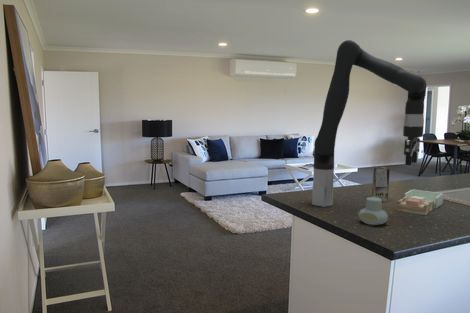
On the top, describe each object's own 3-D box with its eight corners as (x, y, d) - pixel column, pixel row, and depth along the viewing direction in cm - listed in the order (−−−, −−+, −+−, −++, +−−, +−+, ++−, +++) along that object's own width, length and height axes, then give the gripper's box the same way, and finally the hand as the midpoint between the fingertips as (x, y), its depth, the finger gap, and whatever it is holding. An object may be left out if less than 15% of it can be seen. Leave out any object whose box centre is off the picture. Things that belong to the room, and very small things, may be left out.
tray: (436, 208, 172) (437, 198, 171) (403, 203, 180) (404, 193, 180) (442, 203, 181) (443, 193, 181) (411, 199, 190) (412, 189, 190)
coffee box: (388, 201, 184) (390, 169, 182) (374, 201, 185) (376, 168, 183) (384, 197, 193) (386, 166, 191) (371, 197, 194) (373, 166, 192)
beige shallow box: (425, 215, 161) (426, 206, 161) (396, 210, 169) (396, 201, 168) (433, 208, 172) (434, 200, 171) (405, 204, 179) (406, 196, 179)
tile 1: (417, 206, 164) (418, 202, 163) (405, 204, 167) (405, 200, 167) (420, 204, 168) (421, 200, 167) (409, 202, 171) (409, 198, 170)
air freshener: (390, 223, 149) (391, 199, 148) (382, 228, 143) (384, 202, 142) (363, 218, 156) (364, 194, 155) (355, 222, 150) (356, 198, 149)
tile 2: (421, 203, 169) (422, 199, 168) (409, 201, 172) (410, 197, 172) (424, 201, 172) (425, 197, 172) (413, 200, 176) (413, 195, 175)
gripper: (408, 124, 165) (406, 161, 167) (398, 125, 154) (396, 164, 156) (427, 125, 160) (424, 162, 162) (418, 126, 149) (416, 166, 151)
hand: (411, 163), depth 159 cm, fingers open, 8 cm apart
